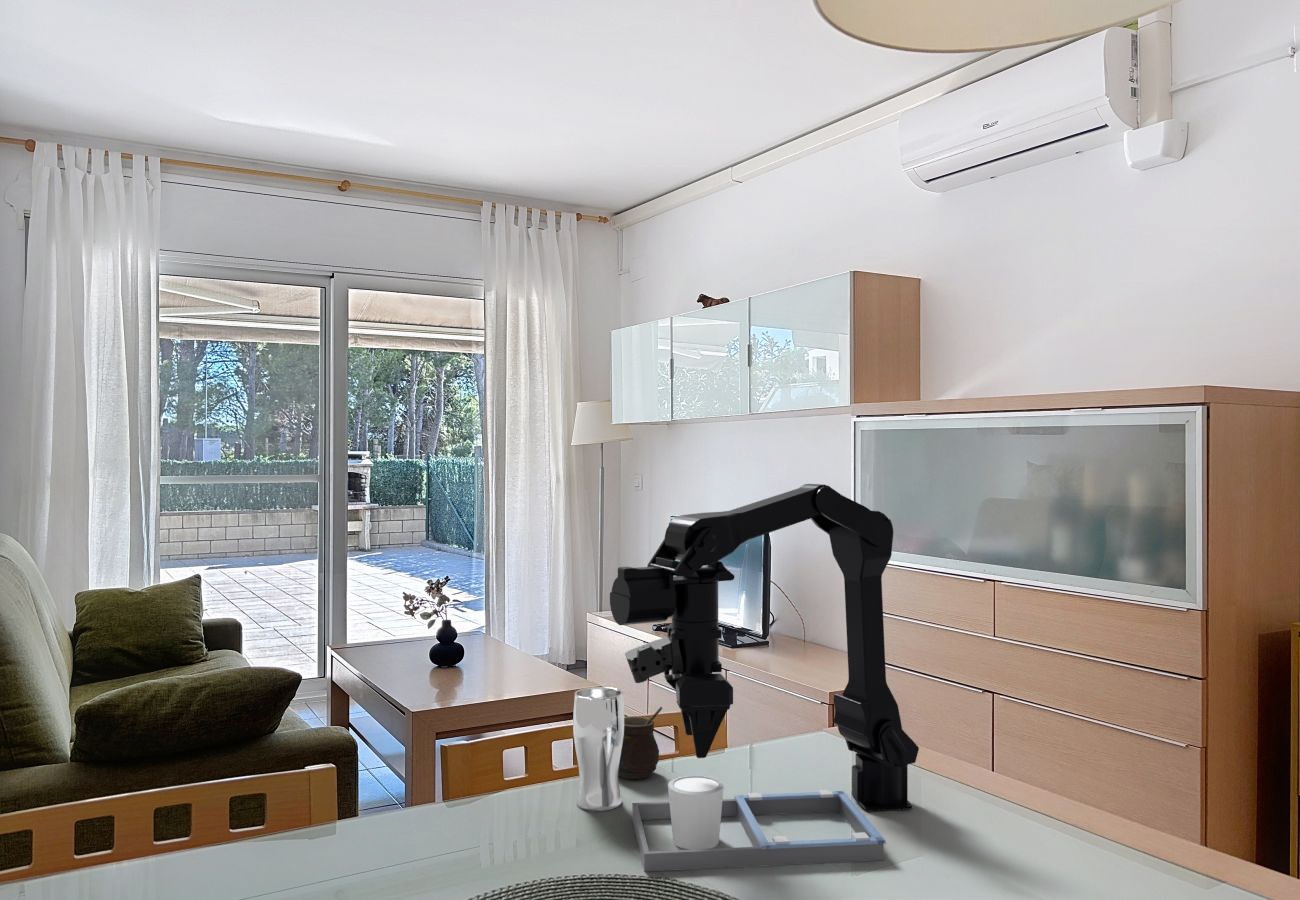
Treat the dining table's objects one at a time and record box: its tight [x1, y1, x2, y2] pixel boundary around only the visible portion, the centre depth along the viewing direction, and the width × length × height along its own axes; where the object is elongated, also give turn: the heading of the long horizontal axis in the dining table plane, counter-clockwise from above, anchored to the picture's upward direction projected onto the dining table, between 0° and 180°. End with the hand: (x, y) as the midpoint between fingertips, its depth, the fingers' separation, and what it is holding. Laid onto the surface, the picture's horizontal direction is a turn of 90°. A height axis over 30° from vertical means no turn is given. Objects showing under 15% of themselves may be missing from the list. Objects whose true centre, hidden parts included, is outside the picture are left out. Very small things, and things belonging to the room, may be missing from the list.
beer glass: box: [572, 686, 625, 812], centre depth 133 cm, size 7×7×15 cm
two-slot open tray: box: [631, 789, 887, 872], centre depth 121 cm, size 28×16×3 cm, turn 96°
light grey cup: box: [667, 775, 725, 850], centre depth 120 cm, size 7×7×7 cm
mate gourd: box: [618, 706, 663, 780], centre depth 144 cm, size 7×8×10 cm
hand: (695, 745), depth 120 cm, fingers open, 9 cm apart
